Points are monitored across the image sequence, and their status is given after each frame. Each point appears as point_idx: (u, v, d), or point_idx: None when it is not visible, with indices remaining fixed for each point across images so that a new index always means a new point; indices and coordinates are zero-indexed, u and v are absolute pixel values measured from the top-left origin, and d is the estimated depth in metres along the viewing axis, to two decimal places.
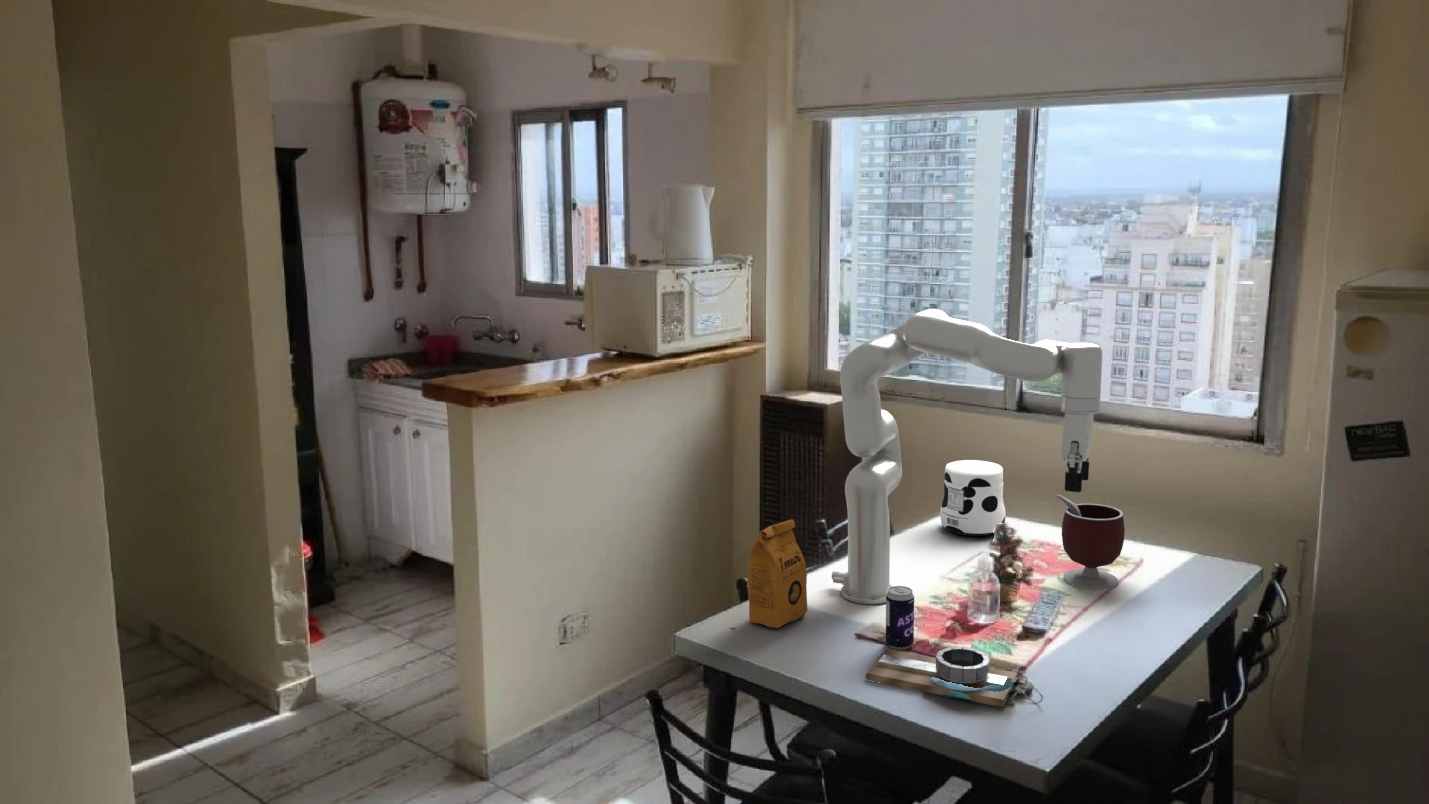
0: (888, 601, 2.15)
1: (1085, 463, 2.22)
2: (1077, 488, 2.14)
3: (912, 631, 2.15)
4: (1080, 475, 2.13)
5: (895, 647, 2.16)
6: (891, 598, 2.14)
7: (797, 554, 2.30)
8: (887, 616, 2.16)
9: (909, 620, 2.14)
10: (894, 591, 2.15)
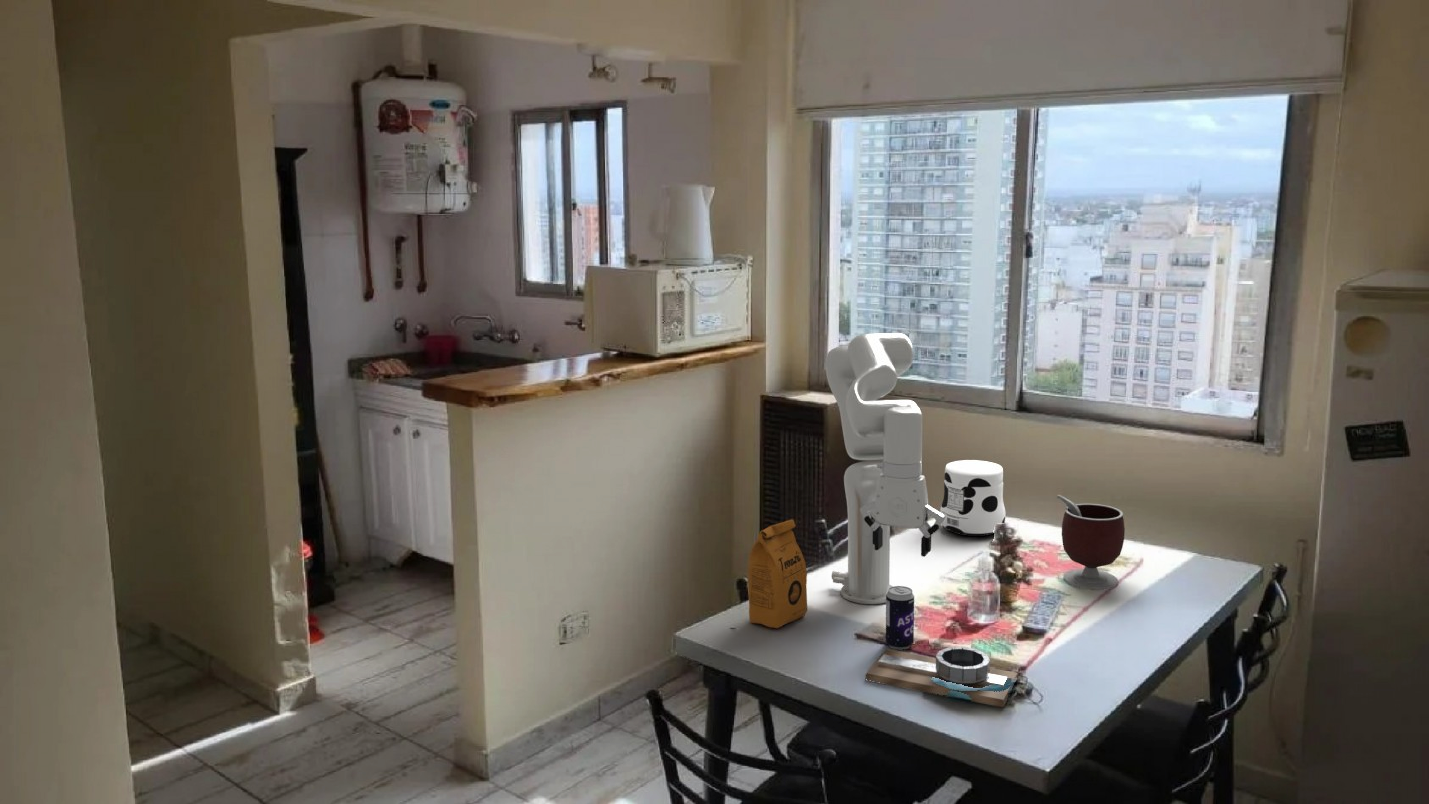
0: (888, 601, 2.15)
1: (881, 530, 2.16)
2: None
3: (912, 631, 2.15)
4: None
5: (895, 647, 2.16)
6: (891, 598, 2.14)
7: (797, 554, 2.30)
8: (887, 616, 2.16)
9: (909, 620, 2.14)
10: (894, 591, 2.15)
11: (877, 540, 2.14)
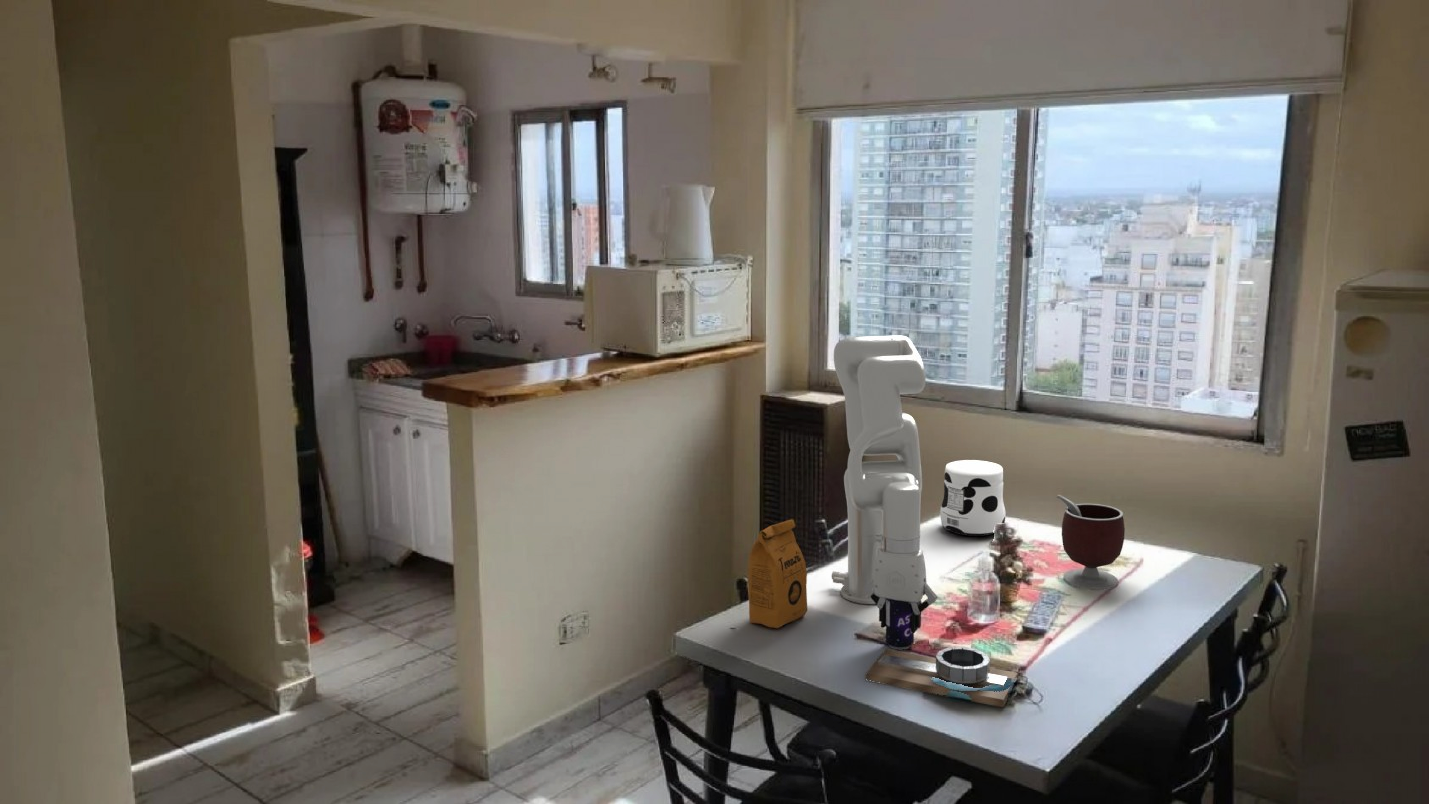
0: (888, 601, 2.15)
1: None
2: None
3: None
4: None
5: (895, 647, 2.15)
6: None
7: (797, 554, 2.30)
8: (887, 616, 2.16)
9: (909, 620, 2.14)
10: None
11: (883, 618, 2.17)
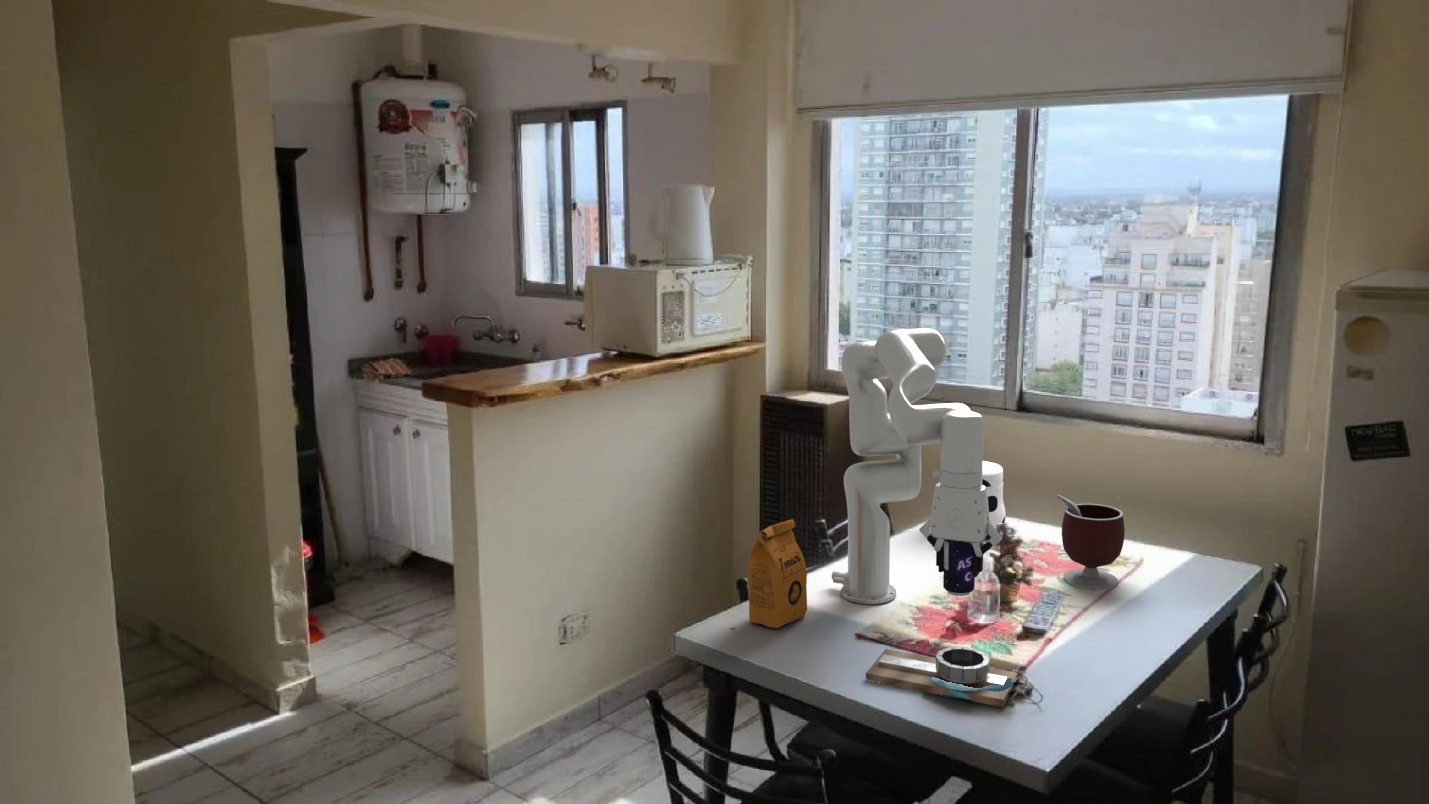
0: (947, 542, 1.95)
1: None
2: None
3: None
4: None
5: (954, 593, 1.96)
6: None
7: (797, 554, 2.30)
8: (945, 559, 1.96)
9: (970, 563, 1.94)
10: None
11: (941, 561, 1.97)
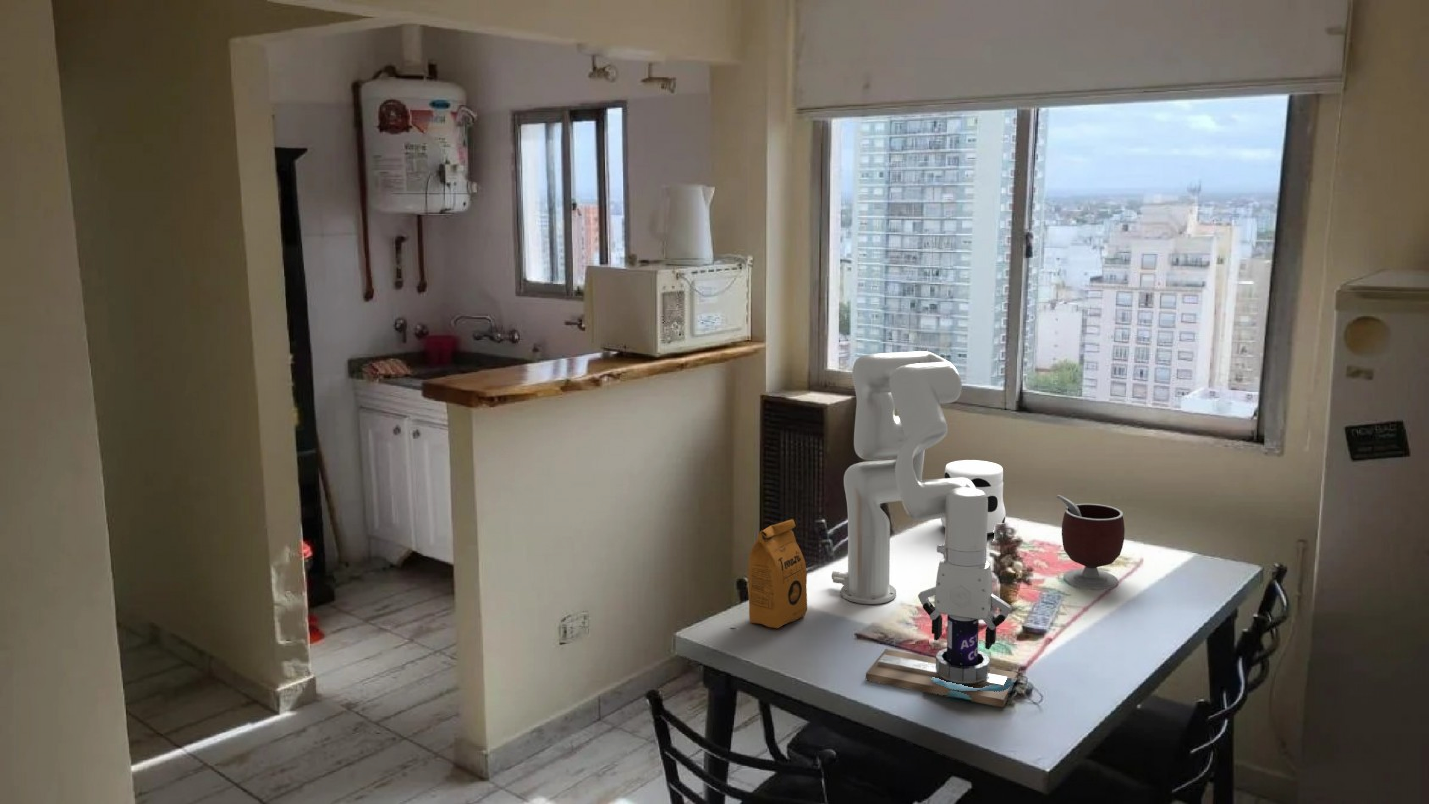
0: (950, 621, 1.97)
1: (941, 618, 2.01)
2: None
3: (976, 654, 1.97)
4: None
5: None
6: (954, 618, 1.96)
7: (797, 554, 2.30)
8: (949, 638, 1.98)
9: (973, 642, 1.96)
10: None
11: (937, 630, 1.99)
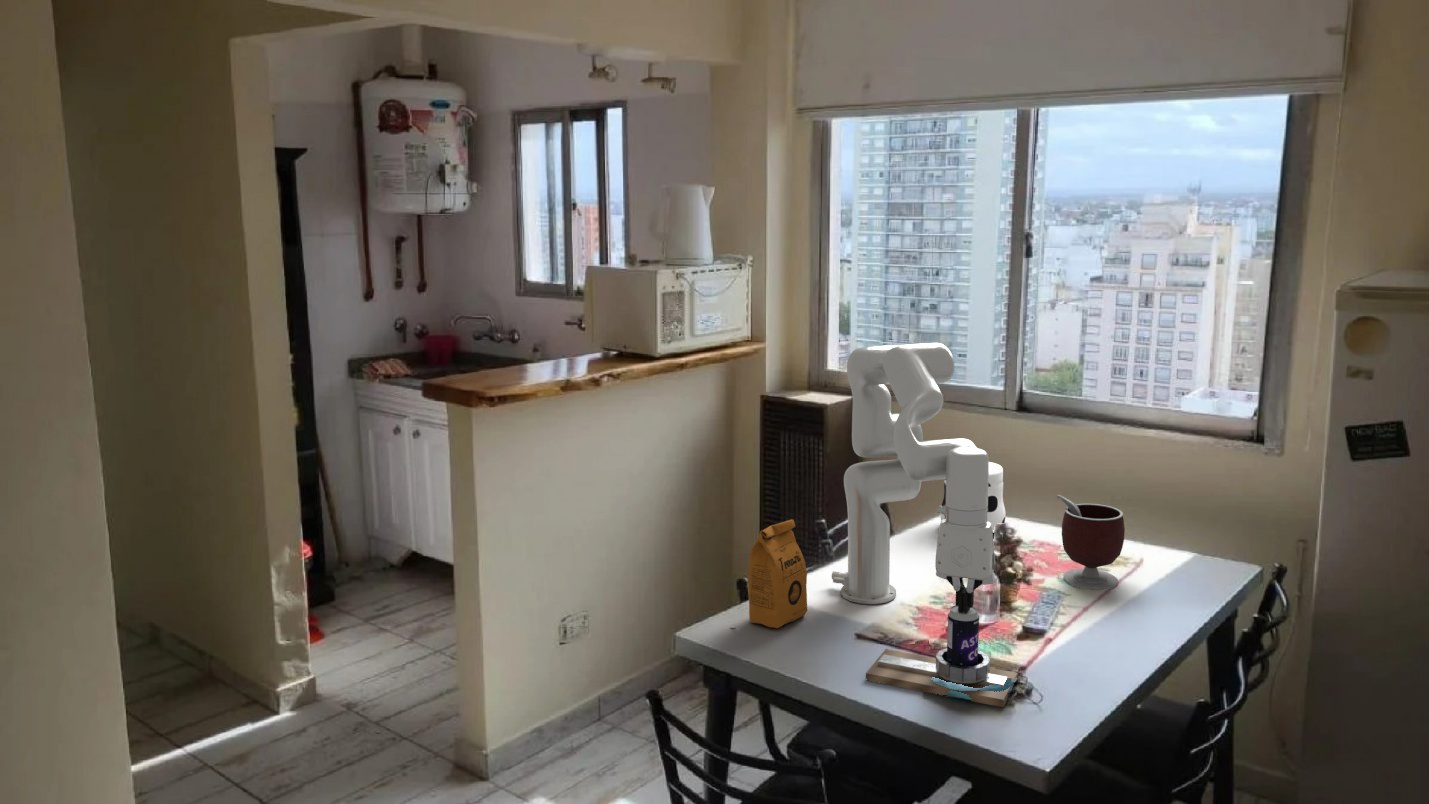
0: (951, 621, 1.96)
1: None
2: None
3: (976, 654, 1.97)
4: None
5: None
6: (955, 618, 1.96)
7: (797, 554, 2.30)
8: (949, 638, 1.97)
9: (973, 642, 1.96)
10: (957, 610, 1.97)
11: (961, 601, 1.95)
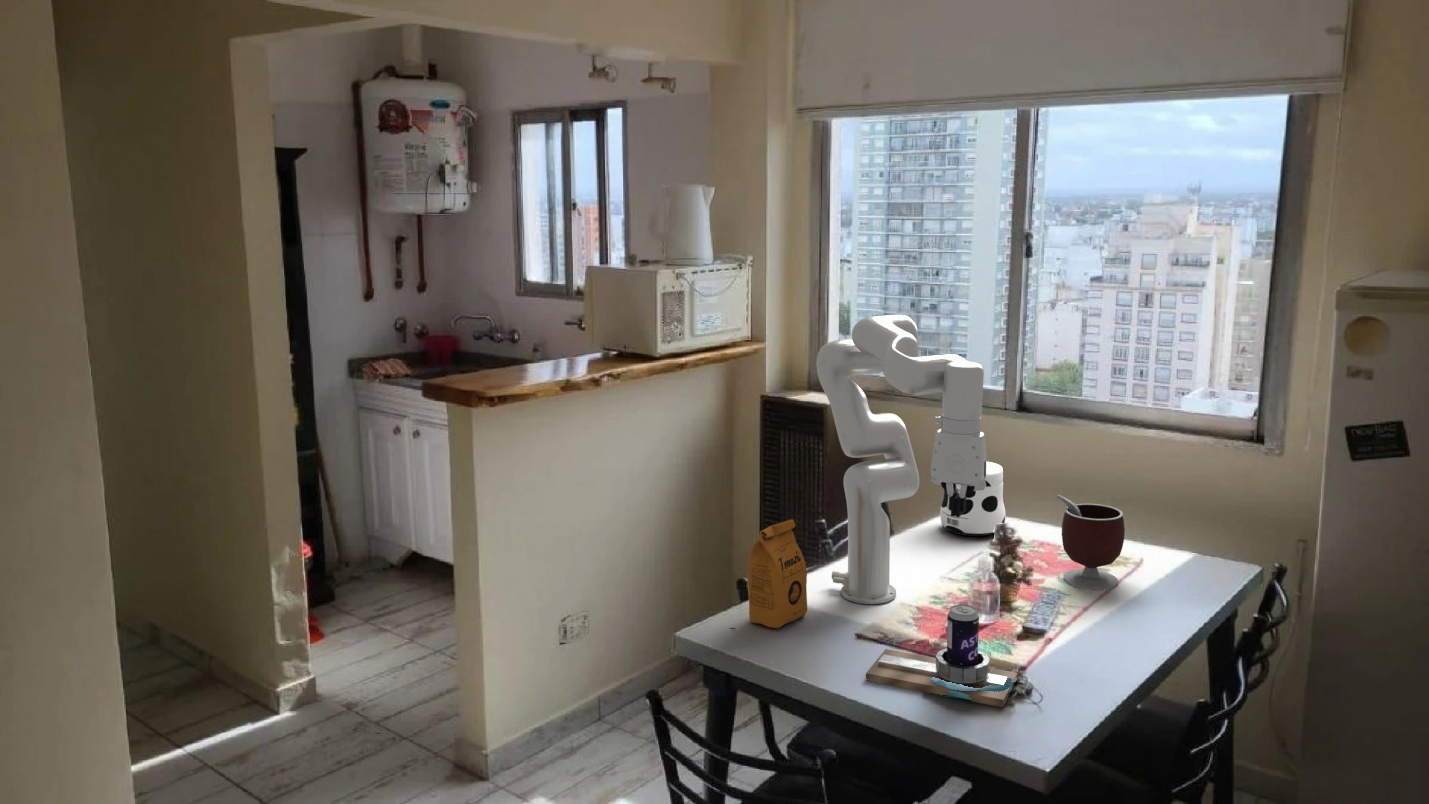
0: (950, 621, 1.97)
1: None
2: None
3: (976, 654, 1.97)
4: None
5: None
6: (954, 618, 1.96)
7: (797, 554, 2.30)
8: (949, 638, 1.98)
9: (973, 642, 1.96)
10: (957, 610, 1.97)
11: (954, 506, 2.09)
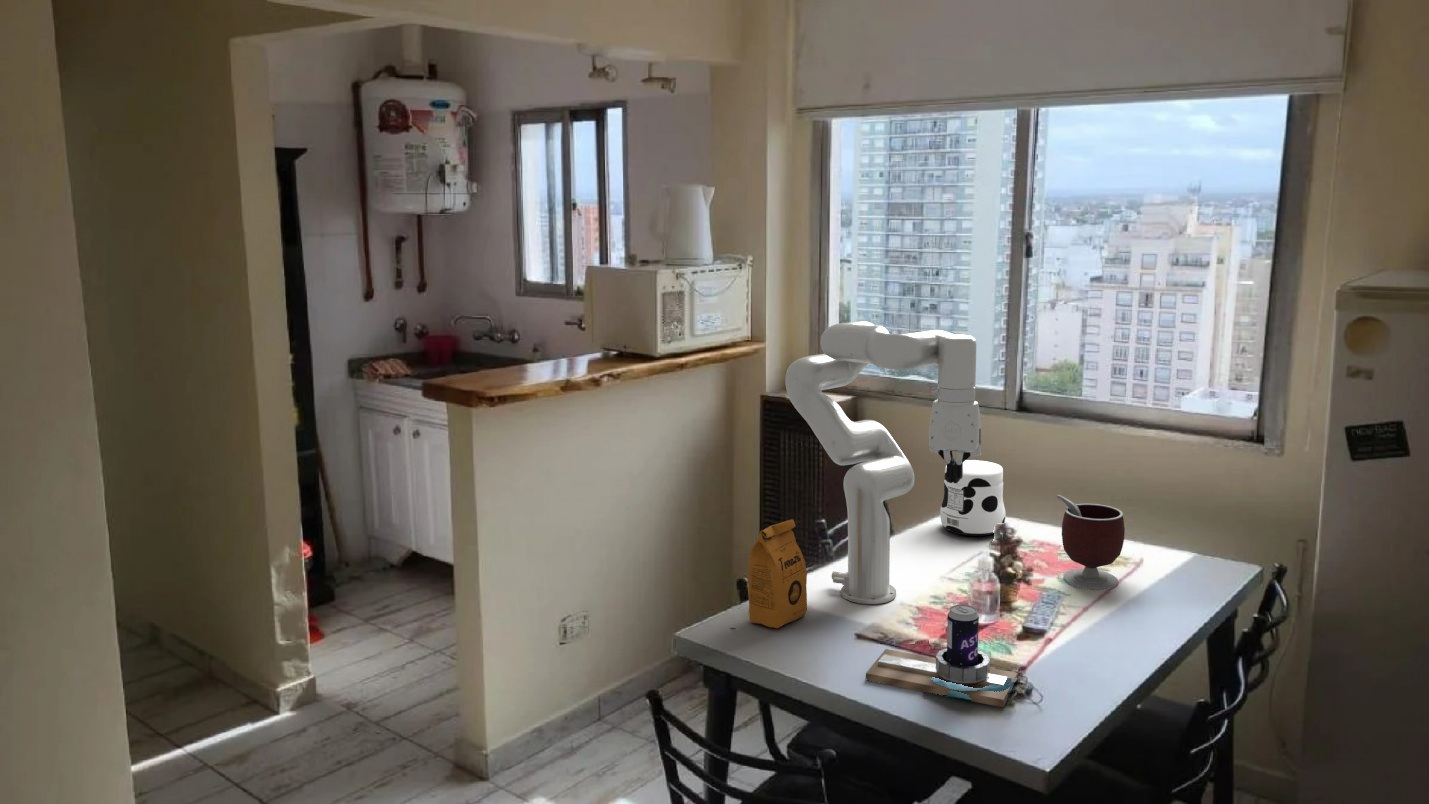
0: (950, 621, 1.97)
1: (955, 463, 2.21)
2: None
3: (976, 654, 1.97)
4: None
5: None
6: (954, 618, 1.96)
7: (797, 554, 2.30)
8: (949, 638, 1.98)
9: (973, 642, 1.96)
10: (957, 610, 1.97)
11: (951, 473, 2.19)
